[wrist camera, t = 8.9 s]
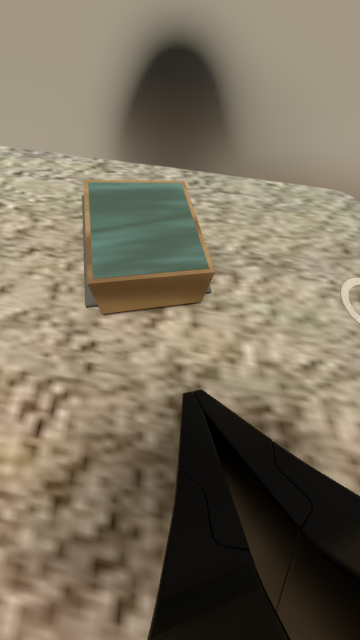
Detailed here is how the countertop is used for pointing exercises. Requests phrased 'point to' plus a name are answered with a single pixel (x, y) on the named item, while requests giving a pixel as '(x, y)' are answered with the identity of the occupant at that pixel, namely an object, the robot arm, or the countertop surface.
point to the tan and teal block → (143, 245)
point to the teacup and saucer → (345, 299)
